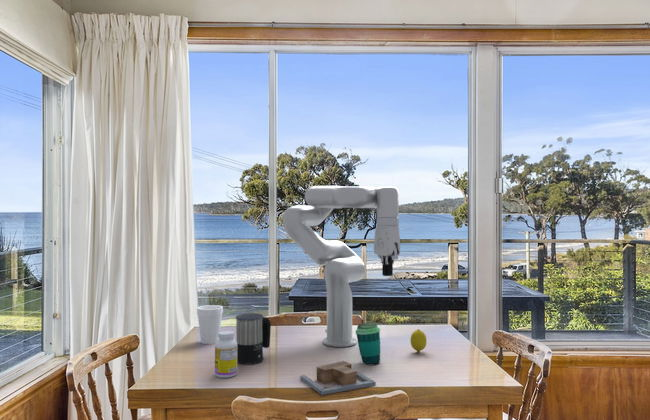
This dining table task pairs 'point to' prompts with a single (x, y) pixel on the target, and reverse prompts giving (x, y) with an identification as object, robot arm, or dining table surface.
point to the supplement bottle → (226, 355)
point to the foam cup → (209, 322)
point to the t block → (337, 373)
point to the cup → (369, 343)
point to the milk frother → (252, 337)
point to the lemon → (418, 340)
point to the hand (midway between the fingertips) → (387, 275)
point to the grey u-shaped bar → (321, 390)
